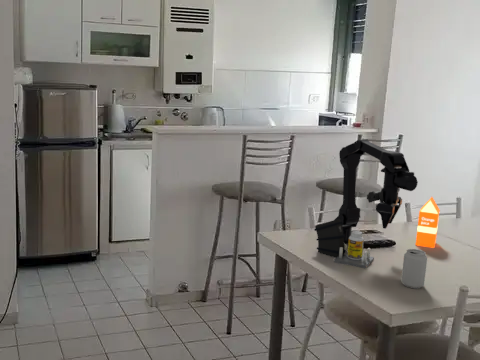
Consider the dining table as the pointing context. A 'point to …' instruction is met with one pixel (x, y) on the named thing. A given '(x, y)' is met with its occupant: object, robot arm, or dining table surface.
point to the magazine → (330, 238)
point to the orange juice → (428, 224)
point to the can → (414, 268)
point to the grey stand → (358, 263)
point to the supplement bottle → (355, 245)
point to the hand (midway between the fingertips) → (387, 225)
